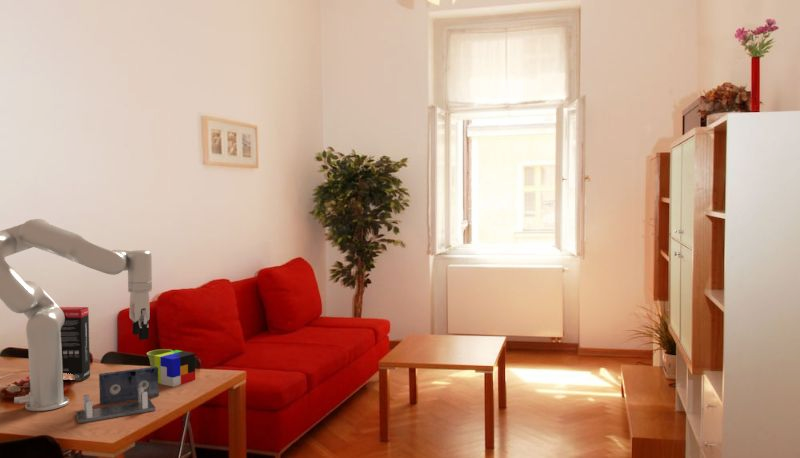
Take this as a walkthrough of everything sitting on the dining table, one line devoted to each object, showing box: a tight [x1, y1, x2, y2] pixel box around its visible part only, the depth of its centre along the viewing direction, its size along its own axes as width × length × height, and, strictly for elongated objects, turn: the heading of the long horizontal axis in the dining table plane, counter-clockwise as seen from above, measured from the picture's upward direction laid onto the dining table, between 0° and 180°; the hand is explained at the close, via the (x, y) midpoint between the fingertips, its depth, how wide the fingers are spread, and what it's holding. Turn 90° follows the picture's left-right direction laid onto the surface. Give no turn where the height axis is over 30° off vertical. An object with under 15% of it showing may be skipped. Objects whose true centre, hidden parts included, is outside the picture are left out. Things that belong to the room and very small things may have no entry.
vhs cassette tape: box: [98, 366, 160, 406], centre depth 220 cm, size 18×3×10 cm, turn 119°
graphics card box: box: [59, 306, 91, 382], centre depth 244 cm, size 17×7×27 cm, turn 92°
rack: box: [75, 386, 156, 424], centre depth 207 cm, size 22×9×6 cm, turn 122°
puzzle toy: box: [154, 349, 196, 388], centre depth 241 cm, size 10×10×10 cm
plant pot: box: [146, 348, 173, 367], centre depth 251 cm, size 9×9×9 cm
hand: (140, 336), depth 223 cm, fingers open, 9 cm apart
